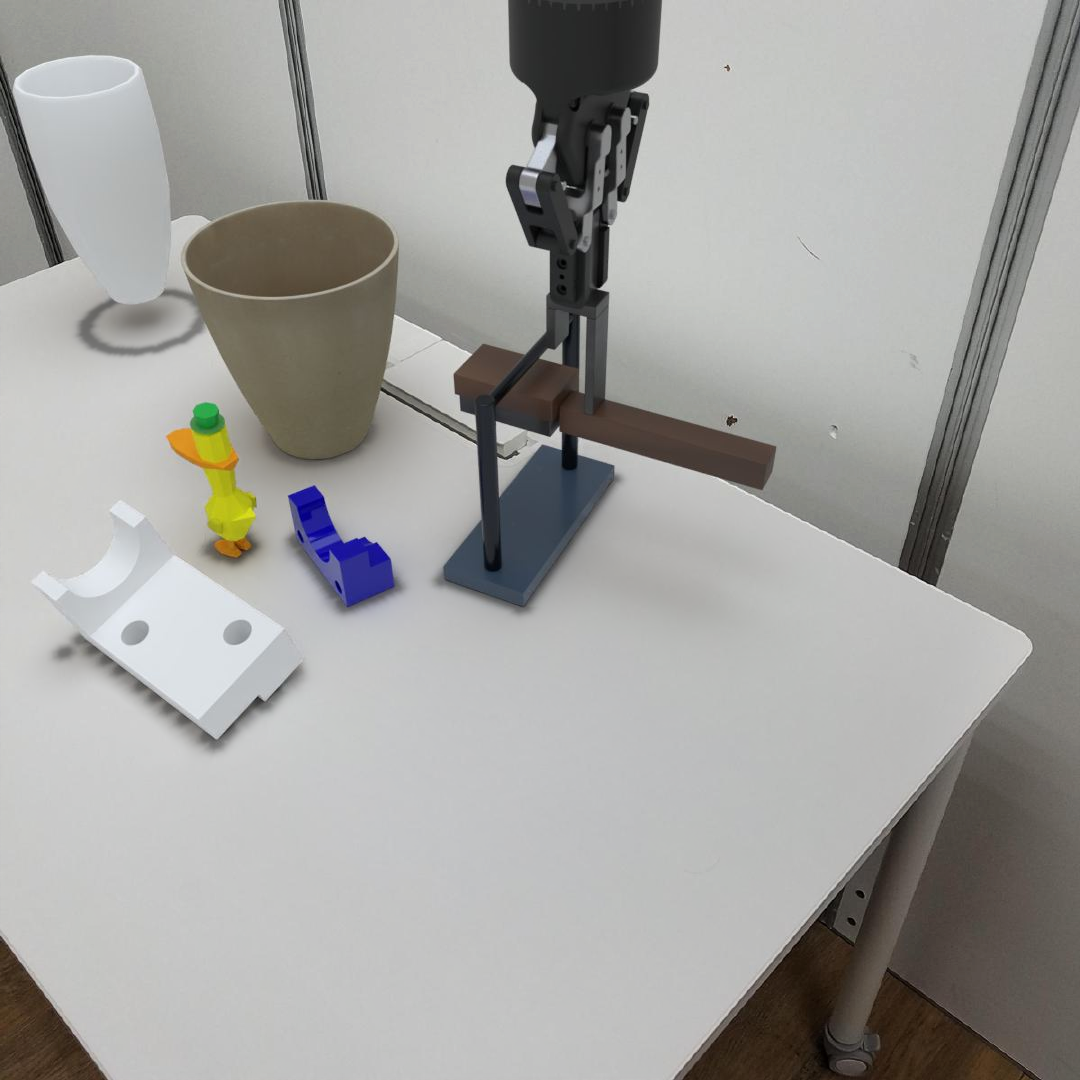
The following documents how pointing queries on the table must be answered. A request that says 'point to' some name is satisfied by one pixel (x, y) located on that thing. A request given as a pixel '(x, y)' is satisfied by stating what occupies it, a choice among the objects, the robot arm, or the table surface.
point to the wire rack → (526, 498)
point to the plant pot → (300, 315)
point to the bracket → (174, 626)
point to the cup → (101, 168)
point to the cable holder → (339, 550)
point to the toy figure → (217, 477)
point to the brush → (603, 400)
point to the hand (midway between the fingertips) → (579, 292)
